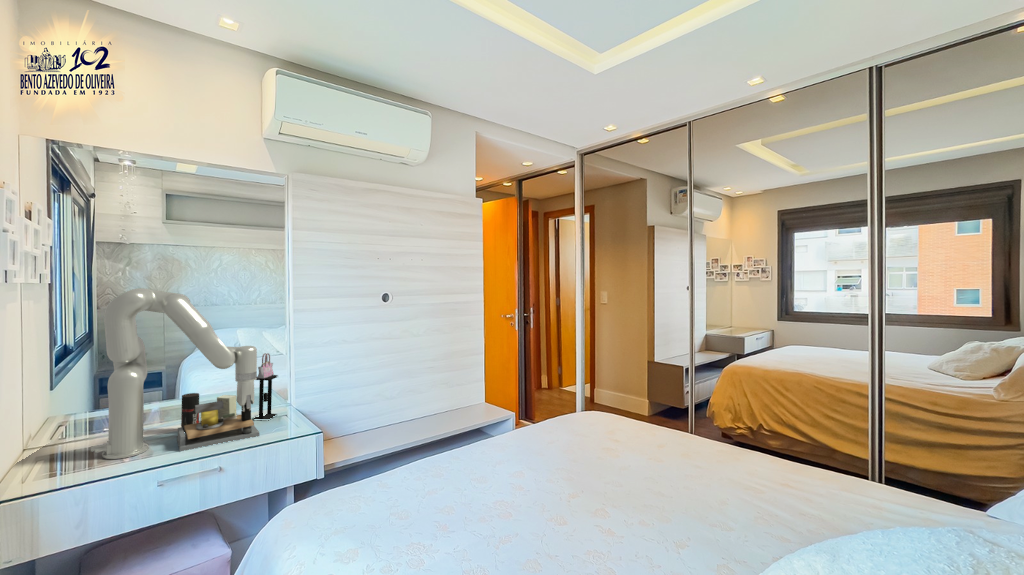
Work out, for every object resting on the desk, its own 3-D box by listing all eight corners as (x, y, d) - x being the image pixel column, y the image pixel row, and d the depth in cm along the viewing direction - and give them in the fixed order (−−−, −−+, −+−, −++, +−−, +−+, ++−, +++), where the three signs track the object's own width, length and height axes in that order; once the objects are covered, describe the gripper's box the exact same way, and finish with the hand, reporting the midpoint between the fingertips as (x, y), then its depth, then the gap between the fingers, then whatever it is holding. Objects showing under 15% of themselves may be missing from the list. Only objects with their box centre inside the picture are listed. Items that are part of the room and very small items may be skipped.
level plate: (187, 439, 161) (187, 412, 161) (184, 428, 172) (183, 403, 171) (254, 425, 176) (253, 400, 175) (246, 416, 186) (246, 392, 186)
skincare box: (236, 422, 192) (237, 395, 191) (229, 425, 187) (229, 398, 187) (223, 421, 192) (224, 394, 192) (215, 424, 188) (216, 397, 188)
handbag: (266, 421, 194) (268, 355, 193) (250, 421, 194) (251, 355, 193) (279, 414, 204) (281, 351, 203) (263, 413, 204) (265, 351, 203)
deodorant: (191, 433, 177) (192, 397, 177) (177, 432, 177) (178, 396, 177) (202, 428, 183) (202, 393, 183) (188, 427, 183) (189, 392, 183)
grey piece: (180, 451, 160) (180, 438, 160) (176, 439, 170) (177, 427, 170) (259, 436, 177) (259, 424, 177) (252, 426, 188) (252, 414, 188)
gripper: (232, 374, 180) (232, 417, 181) (239, 381, 169) (239, 427, 170) (252, 371, 185) (252, 413, 186) (260, 378, 174) (260, 423, 175)
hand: (246, 419), depth 178 cm, fingers closed
